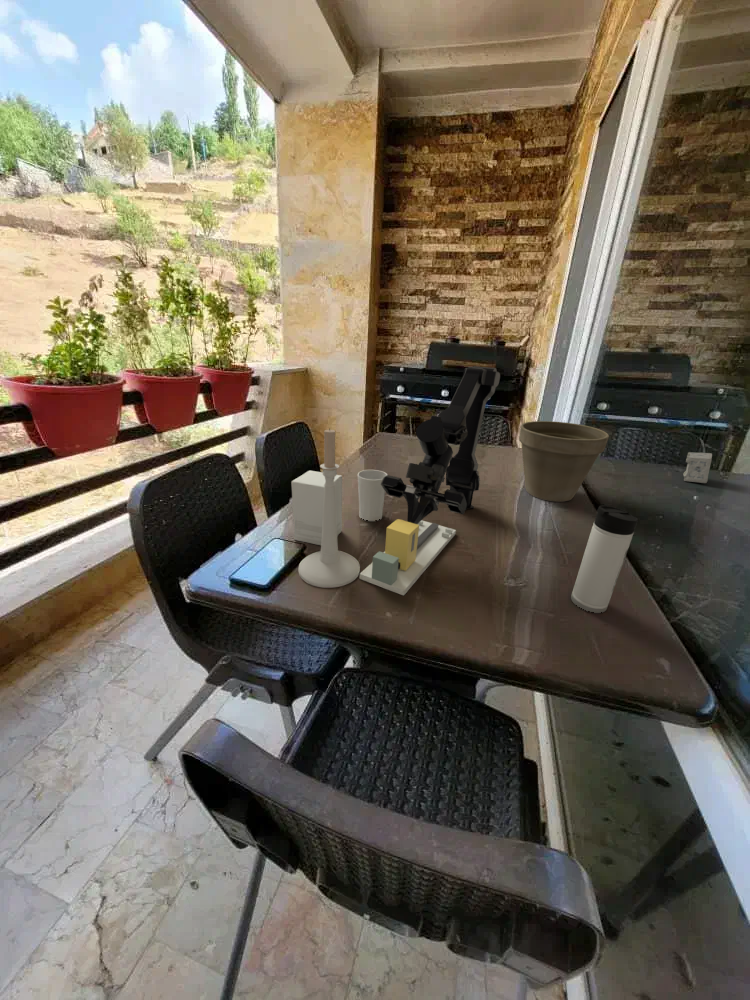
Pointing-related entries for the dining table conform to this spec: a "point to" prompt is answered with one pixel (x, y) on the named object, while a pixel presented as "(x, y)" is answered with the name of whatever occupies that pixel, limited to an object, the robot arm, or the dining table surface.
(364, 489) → the cup
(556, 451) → the plant pot
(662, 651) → the dining table surface
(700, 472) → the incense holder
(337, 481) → the supplement box
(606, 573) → the travel mug
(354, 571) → the candlestick
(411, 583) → the white slide rail base
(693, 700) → the dining table surface
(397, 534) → the yellow sliding block
